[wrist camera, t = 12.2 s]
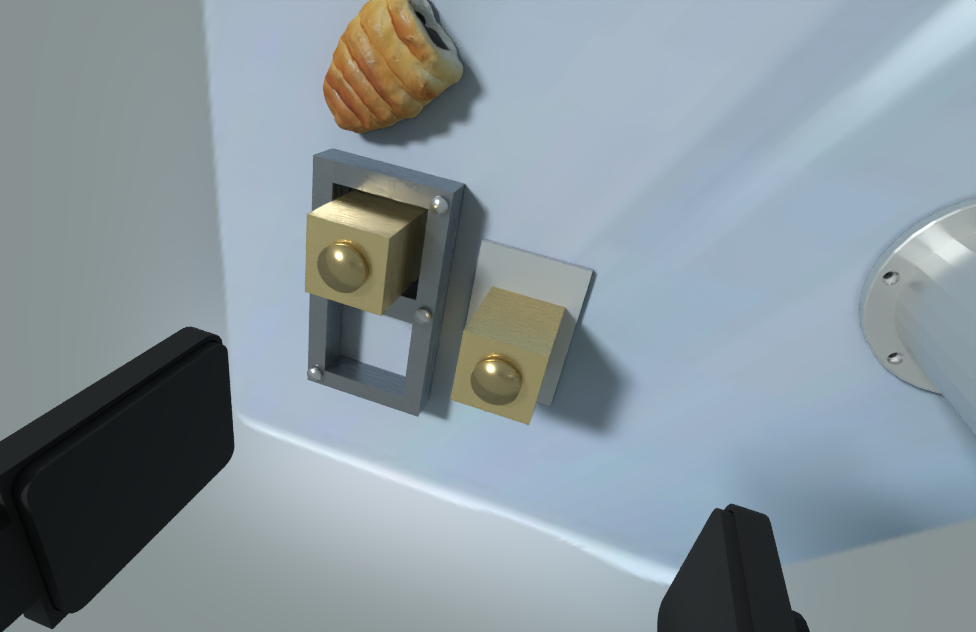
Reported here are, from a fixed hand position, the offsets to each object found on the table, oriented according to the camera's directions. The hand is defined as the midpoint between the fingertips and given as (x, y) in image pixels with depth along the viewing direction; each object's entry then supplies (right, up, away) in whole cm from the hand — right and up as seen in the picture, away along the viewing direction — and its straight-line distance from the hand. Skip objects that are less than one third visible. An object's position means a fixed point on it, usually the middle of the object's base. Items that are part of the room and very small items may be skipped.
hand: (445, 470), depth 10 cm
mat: (+3, +2, +31) cm, 31 cm away
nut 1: (-6, +9, +30) cm, 32 cm away
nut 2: (+3, +2, +31) cm, 31 cm away
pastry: (-5, +19, +25) cm, 32 cm away
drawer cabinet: (-7, +5, +32) cm, 34 cm away
